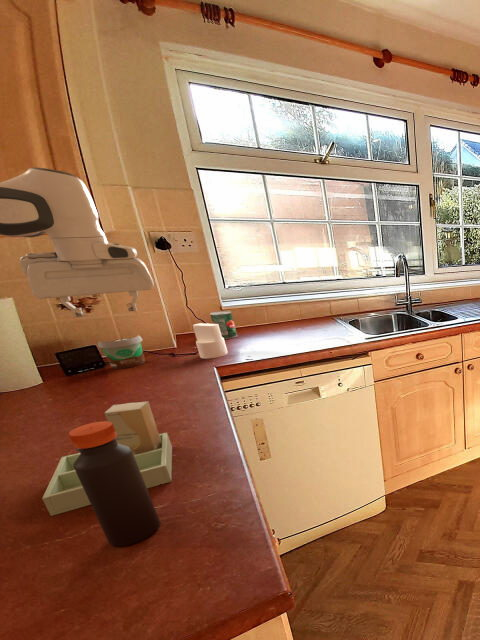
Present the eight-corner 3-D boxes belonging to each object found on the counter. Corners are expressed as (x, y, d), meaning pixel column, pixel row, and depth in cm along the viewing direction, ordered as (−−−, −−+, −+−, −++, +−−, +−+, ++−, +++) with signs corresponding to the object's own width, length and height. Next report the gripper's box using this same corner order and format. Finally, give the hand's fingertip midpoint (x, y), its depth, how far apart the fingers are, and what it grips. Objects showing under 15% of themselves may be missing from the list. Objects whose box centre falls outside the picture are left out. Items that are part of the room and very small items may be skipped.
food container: (112, 372, 147) (102, 344, 143) (106, 368, 150) (96, 341, 146) (155, 362, 156) (146, 336, 153) (148, 359, 159) (139, 333, 156)
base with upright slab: (233, 351, 167) (225, 322, 163) (214, 359, 159) (205, 328, 155) (213, 350, 169) (205, 321, 164) (194, 357, 161) (184, 327, 156)
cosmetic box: (122, 465, 89) (101, 413, 85) (131, 455, 93) (111, 404, 88) (159, 459, 91) (140, 408, 87) (166, 449, 95) (148, 400, 90)
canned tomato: (215, 337, 189) (208, 312, 185) (235, 333, 194) (229, 310, 190) (218, 340, 183) (211, 315, 179) (239, 337, 188) (233, 312, 184)
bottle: (142, 546, 68) (95, 438, 61) (97, 549, 68) (45, 440, 60) (170, 518, 75) (131, 417, 67) (129, 521, 74) (86, 419, 67)
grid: (50, 516, 76) (41, 498, 74) (69, 472, 89) (61, 456, 87) (171, 481, 85) (165, 465, 84) (172, 446, 98) (166, 432, 97)
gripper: (10, 254, 85) (40, 322, 90) (141, 249, 96) (161, 309, 101) (19, 253, 89) (46, 317, 94) (143, 248, 101) (161, 305, 106)
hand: (106, 313), depth 98 cm, fingers open, 8 cm apart
